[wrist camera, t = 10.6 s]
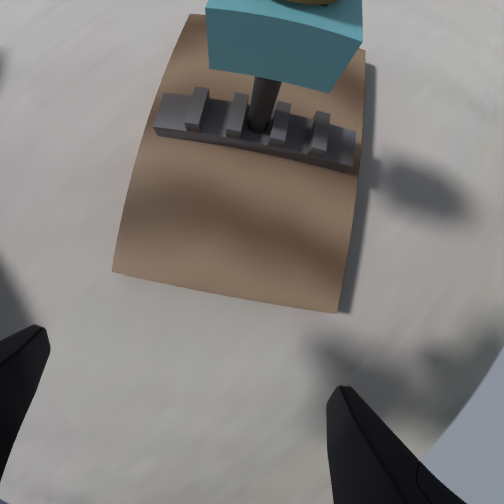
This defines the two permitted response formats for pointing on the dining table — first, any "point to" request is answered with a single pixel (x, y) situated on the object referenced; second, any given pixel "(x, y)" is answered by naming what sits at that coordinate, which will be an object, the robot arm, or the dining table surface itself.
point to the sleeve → (284, 39)
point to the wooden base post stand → (244, 182)
